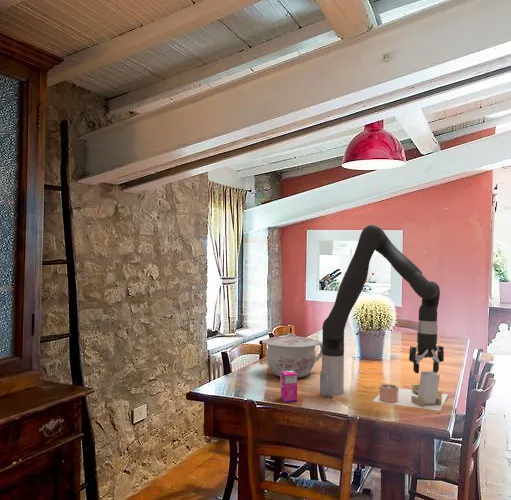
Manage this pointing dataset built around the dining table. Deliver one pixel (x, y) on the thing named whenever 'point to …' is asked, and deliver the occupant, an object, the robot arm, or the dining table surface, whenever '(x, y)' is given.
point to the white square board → (416, 399)
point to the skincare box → (428, 387)
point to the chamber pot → (291, 354)
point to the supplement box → (288, 386)
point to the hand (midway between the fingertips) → (426, 372)
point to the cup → (388, 393)
